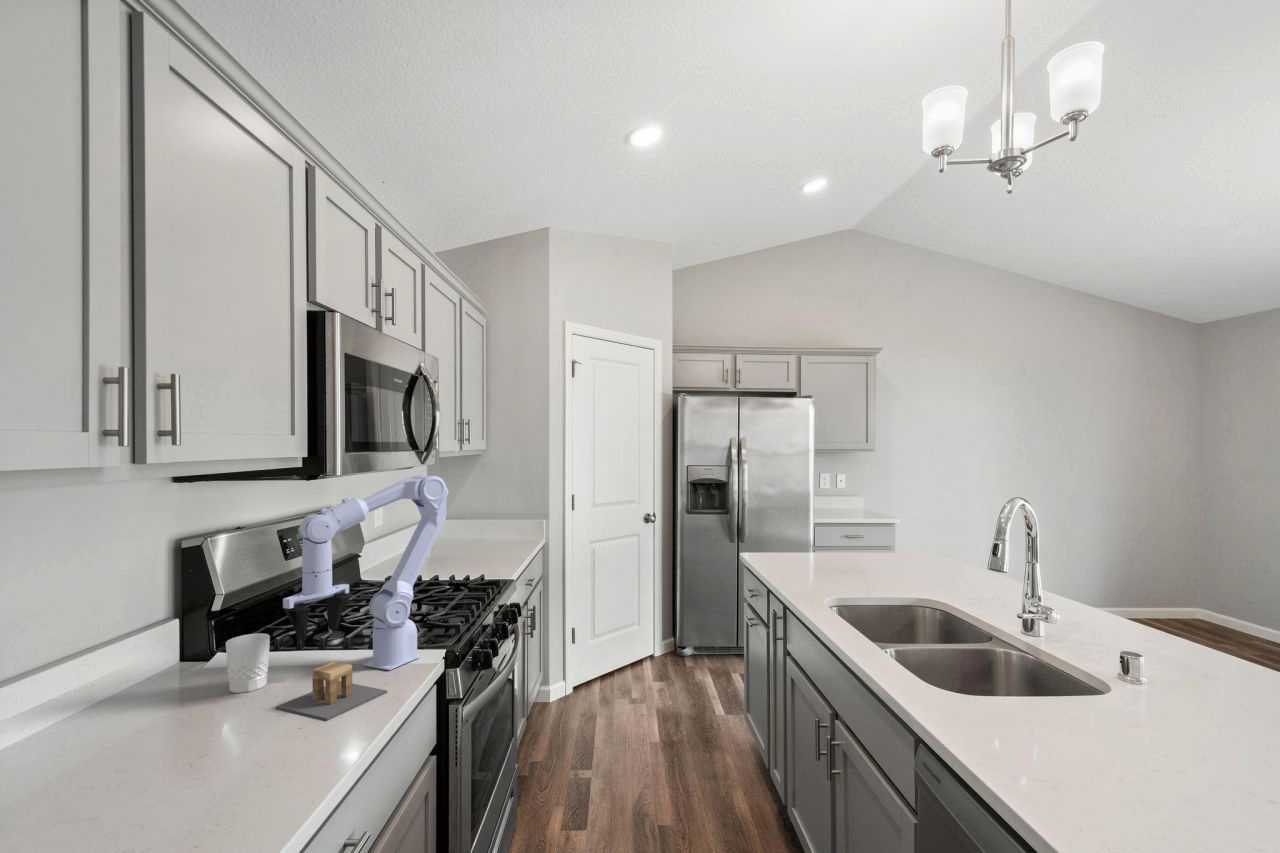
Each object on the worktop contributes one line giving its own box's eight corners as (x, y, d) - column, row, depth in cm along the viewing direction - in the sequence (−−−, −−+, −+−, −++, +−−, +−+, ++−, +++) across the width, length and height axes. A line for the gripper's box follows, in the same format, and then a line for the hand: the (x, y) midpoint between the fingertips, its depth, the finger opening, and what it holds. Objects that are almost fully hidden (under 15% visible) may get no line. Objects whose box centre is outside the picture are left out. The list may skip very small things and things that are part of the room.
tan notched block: (352, 695, 126) (352, 664, 126) (330, 704, 121) (330, 673, 122) (334, 691, 128) (334, 661, 128) (312, 700, 124) (312, 669, 124)
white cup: (278, 680, 136) (278, 633, 136) (252, 694, 128) (252, 645, 129) (244, 679, 137) (244, 633, 137) (216, 694, 129) (216, 644, 129)
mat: (338, 682, 134) (338, 680, 134) (387, 692, 128) (387, 690, 128) (276, 708, 121) (276, 706, 121) (326, 720, 115) (326, 718, 115)
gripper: (333, 563, 144) (334, 623, 144) (273, 576, 131) (273, 642, 131) (355, 565, 141) (356, 626, 141) (296, 578, 128) (296, 646, 128)
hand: (317, 634), depth 135 cm, fingers open, 7 cm apart
